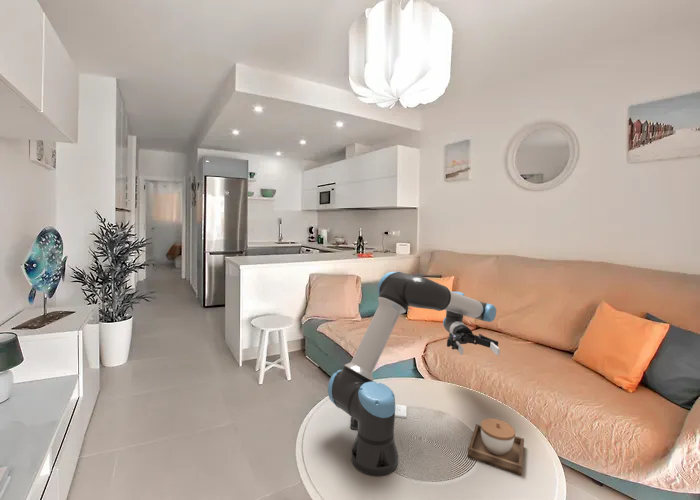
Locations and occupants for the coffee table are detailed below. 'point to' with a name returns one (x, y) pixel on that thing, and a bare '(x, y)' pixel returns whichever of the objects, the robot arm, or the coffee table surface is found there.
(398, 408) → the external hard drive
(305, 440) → the coffee table surface
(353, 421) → the phone
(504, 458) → the walnut tray
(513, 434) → the lidded jar
